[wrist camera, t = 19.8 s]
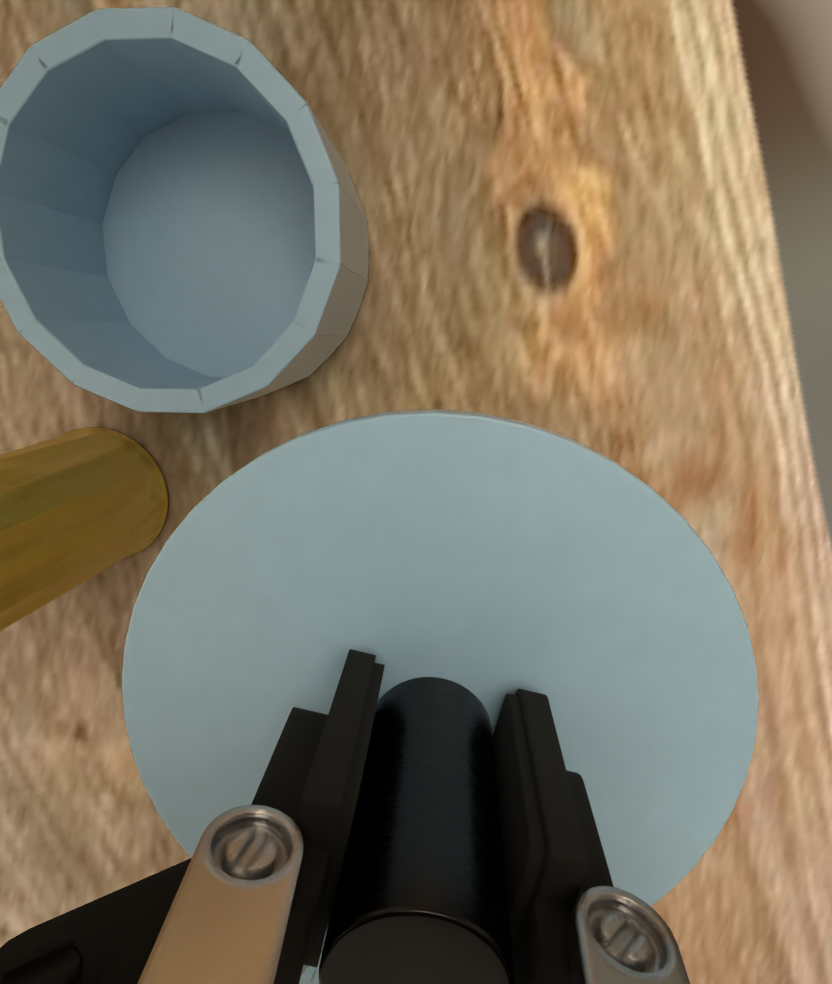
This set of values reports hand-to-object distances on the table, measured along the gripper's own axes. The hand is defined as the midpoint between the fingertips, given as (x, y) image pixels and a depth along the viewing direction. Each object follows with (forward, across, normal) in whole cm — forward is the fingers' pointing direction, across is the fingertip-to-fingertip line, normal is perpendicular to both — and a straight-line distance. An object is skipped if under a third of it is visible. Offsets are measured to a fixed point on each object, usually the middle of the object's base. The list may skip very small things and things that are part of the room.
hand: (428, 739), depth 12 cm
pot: (+16, +11, -8) cm, 21 cm away
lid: (+1, 0, 0) cm, 1 cm away
